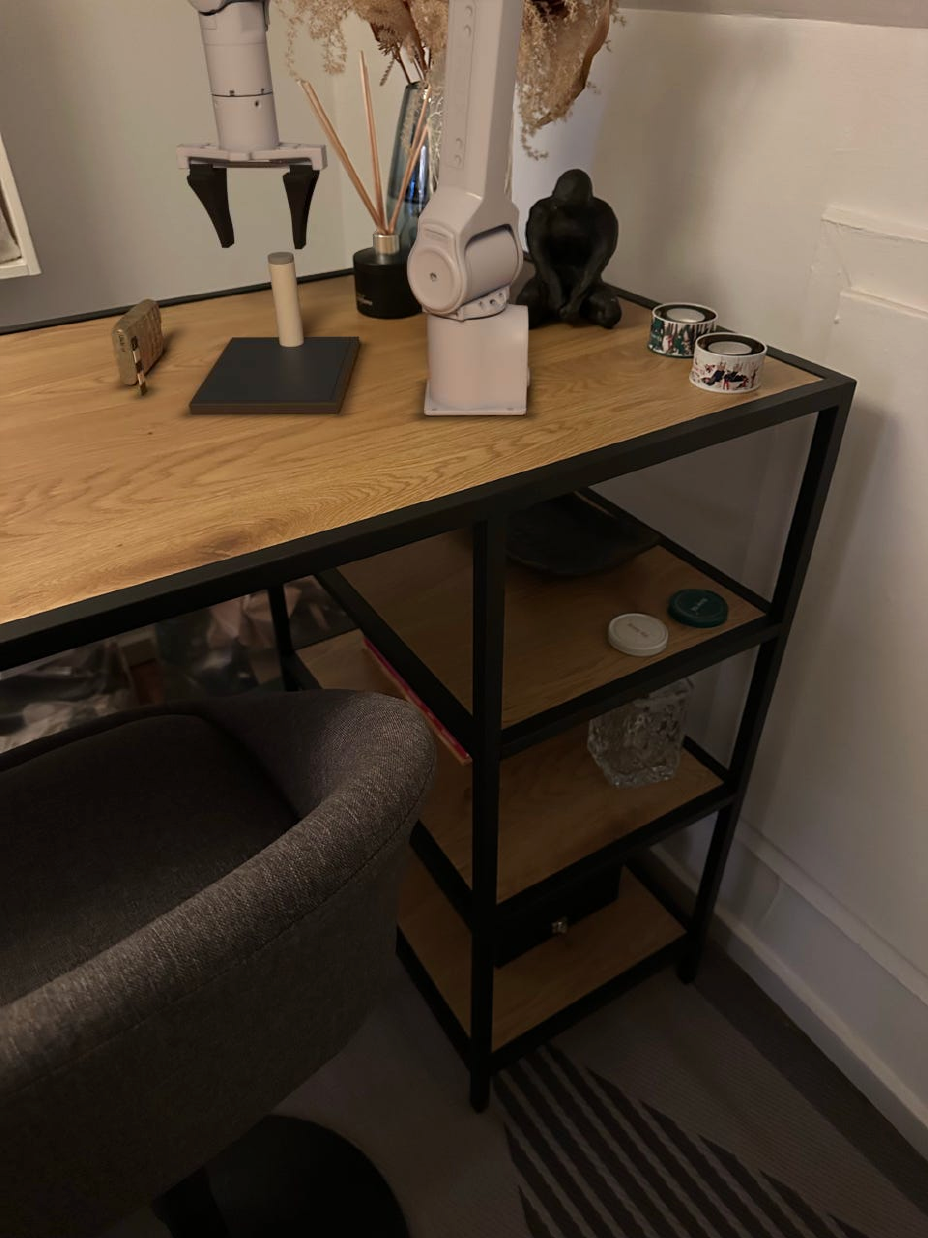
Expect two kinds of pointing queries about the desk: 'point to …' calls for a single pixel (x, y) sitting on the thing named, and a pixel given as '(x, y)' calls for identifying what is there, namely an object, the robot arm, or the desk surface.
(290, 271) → the stylus
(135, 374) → the cuneiform tablet
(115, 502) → the desk surface
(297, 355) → the plate
